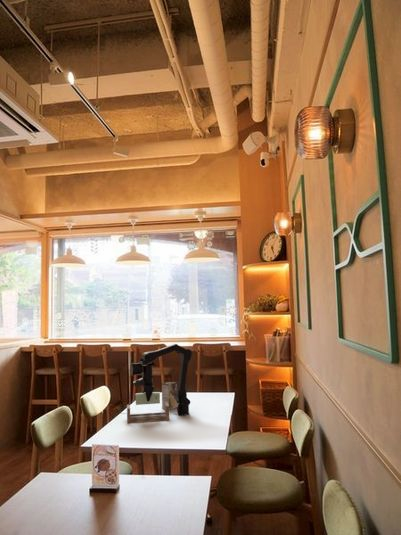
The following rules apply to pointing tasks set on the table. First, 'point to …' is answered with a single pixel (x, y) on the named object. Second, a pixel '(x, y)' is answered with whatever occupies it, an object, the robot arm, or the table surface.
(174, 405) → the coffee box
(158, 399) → the door panel
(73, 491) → the table surface
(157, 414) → the cabinet base
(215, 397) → the table surface
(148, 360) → the robot arm
